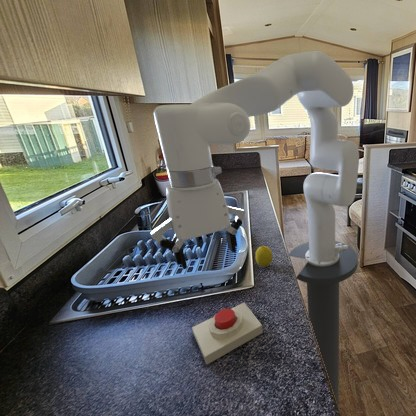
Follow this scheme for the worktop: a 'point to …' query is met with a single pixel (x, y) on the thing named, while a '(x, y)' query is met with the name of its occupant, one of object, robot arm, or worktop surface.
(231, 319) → the button
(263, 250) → the lemon
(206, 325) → the switch block
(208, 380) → the worktop surface
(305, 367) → the worktop surface
